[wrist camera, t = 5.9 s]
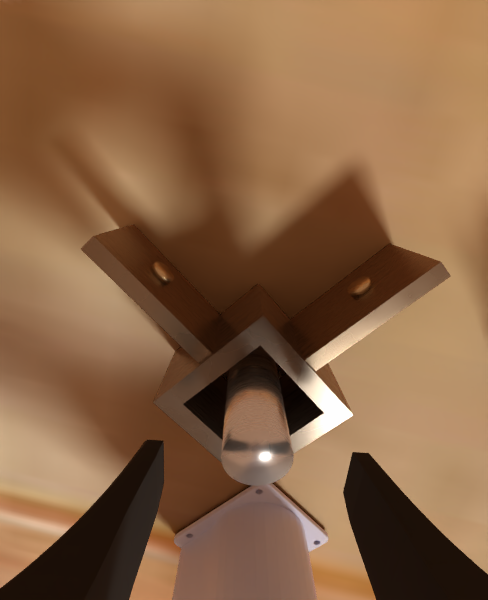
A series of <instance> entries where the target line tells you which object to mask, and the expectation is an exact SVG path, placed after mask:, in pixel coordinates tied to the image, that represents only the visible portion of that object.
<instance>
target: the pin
mask: <svg viewBox="0 0 488 600" xmlns="http://www.w3.org/2000/svg"><path fill="white" fill-rule="evenodd" d="M221 461H222V465H223V468H224V470H225V471H226V473H227V474H228V475H229V476H230V477H231V478H233V479H234V480H236V481H238V482H240V483H243V484H246V485H253V486H261V485H267V484H271V483H273V482H276V481H278V480H279V479H281V478H282V477H284V476H285V475H286V474H287V473H288V471H289V470H290V468H291V466H292V463H293V450H292V445H291V440H290V434H289V429H288V424H287V419H286V414H285V408H284V403H283V398H282V393H281V387H280V382H279V377H278V372H277V366H276V361H275V360H274V359H273V358H272V357H271V356H270V355H269V354H268V353H267V352H266V351H265V350H264V349H263V348H262V347H261V345H260V346H259V347H257V348H256V349H255V350H253V351H252V352H251V353H249V354H248V355H247V356H245V357H244V358H243V359H242V360H240V361H239V362H238V363H236V364H235V365H234V366H232V367H231V368H230V369H228V381H227V393H226V405H225V417H224V429H223V441H222V453H221Z"/></svg>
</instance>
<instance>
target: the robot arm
mask: <svg viewBox="0 0 488 600" xmlns="http://www.w3.org/2000/svg"><path fill="white" fill-rule="evenodd" d="M163 484H164V443H163V441H158V440H146V441H145V442H144V443H143V445H142V446H141V448H140V449H139V450H138V452H137V453H136V454H135V456H134V457H133V458H132V460H131V461H130V462H129V463H128V465H127V466H126V467H125V468H124V470H123V471H122V472H121V473H120V475H119V476H118V477H117V478H116V479H115V480H114V482H113V483H112V484H111V485H110V486H109V488H108V489H107V490H106V491H105V492H104V493H103V494H102V495H101V497H100V498H99V499H98V500H97V501H96V502H95V503H94V504H93V505H92V506H91V507H90V509H89V510H88V511H87V512H86V513H85V514H84V515H83V516H82V517H81V518H80V519H79V520H78V521H77V522H76V523H75V524H74V525H73V526H72V527H71V528H70V529H69V530H68V531H67V532H66V533H65V534H64V535H62V536H61V537H60V538H59V539H58V540H57V541H56V542H55V543H54V544H53V545H52V546H50V547H49V548H48V549H47V550H46V551H45V552H44V553H43V554H41V555H40V556H39V557H38V558H37V559H36V560H35V561H34V562H32V563H31V564H30V565H29V566H28V567H26V568H25V569H24V570H23V571H22V572H20V573H19V574H18V575H17V576H15V577H14V578H13V579H12V580H10V581H9V582H8V583H7V584H5V585H4V586H3V587H1V588H0V600H129V598H130V595H131V591H132V588H133V584H134V581H135V578H136V575H137V572H138V569H139V566H140V563H141V560H142V557H143V554H144V551H145V548H146V545H147V542H148V539H149V536H150V533H151V530H152V527H153V524H154V521H155V518H156V514H157V511H158V507H159V502H160V498H161V493H162V489H163ZM258 489H260V490H258ZM343 494H344V498H345V503H346V508H347V512H348V516H349V520H350V524H351V527H352V530H353V533H354V536H355V539H356V542H357V545H358V548H359V551H360V554H361V557H362V559H363V562H364V565H365V568H366V571H367V574H368V577H369V580H370V583H371V585H372V588H373V591H374V594H375V597H376V600H488V574H487V573H485V572H484V571H483V570H482V569H481V568H480V567H478V566H477V565H476V564H475V563H474V562H473V561H472V560H471V559H469V558H468V557H467V556H466V555H465V554H464V553H463V552H462V551H461V550H459V549H458V548H457V547H456V546H455V545H454V544H453V543H452V542H451V541H450V540H449V539H448V538H447V537H446V536H445V535H443V534H442V533H441V532H440V531H439V530H438V529H437V528H436V527H435V526H434V525H433V524H432V523H431V522H430V521H429V520H428V519H427V518H426V516H425V515H424V514H423V513H422V512H421V511H420V510H419V509H418V508H417V507H416V506H415V505H414V504H413V503H412V502H411V501H410V499H409V498H408V497H407V496H406V495H405V494H404V493H403V492H402V491H401V490H400V488H399V487H398V486H397V485H396V484H395V483H394V482H393V481H392V479H391V478H390V477H389V476H388V475H387V474H386V473H385V471H384V470H383V469H382V468H381V467H380V466H379V465H378V463H377V462H376V461H375V460H374V459H373V458H372V457H371V455H370V454H369V453H357V452H353V453H352V457H351V462H350V466H349V470H348V474H347V479H346V483H345V487H344V491H343ZM327 541H328V535H327V533H326V532H325V531H324V530H323V529H322V528H321V527H320V526H319V525H318V524H317V523H316V522H314V521H313V520H312V519H311V518H310V517H309V516H308V515H307V514H306V513H305V512H303V511H302V510H301V509H300V508H299V507H298V506H297V505H296V504H295V503H293V502H292V501H291V500H290V499H289V498H288V497H287V496H286V495H285V494H284V493H282V492H281V491H280V490H279V489H278V488H277V487H276V486H275V485H274V484H273V483H271V484H267V485H261V486H253V485H252V486H250V487H249V488H247V489H246V490H244V491H242V492H241V493H239V494H238V495H236V496H235V497H233V498H232V499H230V500H228V501H227V502H225V503H224V504H222V505H221V506H219V507H217V508H216V509H214V510H213V511H211V512H210V513H208V514H207V515H205V516H203V517H202V518H200V519H199V520H197V521H196V522H194V523H193V524H191V525H189V526H188V527H186V528H185V529H183V530H182V531H180V532H179V533H177V534H176V535H175V538H174V543H175V544H176V545H178V546H179V547H180V548H181V553H180V558H179V564H178V570H177V575H176V581H175V587H174V592H173V598H172V600H317V596H316V590H315V585H314V579H313V573H312V568H311V562H310V557H309V552H310V551H312V550H314V549H315V548H317V547H319V546H321V545H323V544H324V543H326V542H327Z"/></svg>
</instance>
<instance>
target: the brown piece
mask: <svg viewBox="0 0 488 600" xmlns="http://www.w3.org/2000/svg"><path fill="white" fill-rule="evenodd" d="M81 250H82V251H83V252H84V253H85V254H86V255H87V256H88V257H89V258H90V259H91V260H92V261H94V262H95V263H96V264H97V265H98V266H99V267H100V268H101V269H102V270H103V271H104V272H105V273H106V274H107V275H108V276H109V277H110V278H111V279H112V280H113V281H114V282H115V283H116V284H117V285H118V286H119V287H120V288H121V289H122V290H123V291H124V292H126V293H127V294H128V295H129V296H130V297H131V298H132V299H133V300H134V301H135V302H136V303H137V304H138V305H139V306H140V307H141V308H142V309H143V310H144V311H145V312H146V313H147V314H148V315H149V316H150V317H151V318H152V319H153V320H154V321H155V322H157V323H158V324H159V325H160V326H161V327H162V328H163V329H164V330H165V331H166V332H167V333H168V334H169V335H170V336H171V337H172V338H173V339H174V340H175V341H176V342H177V343H178V344H179V345H180V346H181V347H180V348H179V349H178V350H176V351H175V353H174V355H173V358H172V360H171V362H170V364H169V367H168V369H167V371H166V374H165V376H164V378H163V380H162V383H161V385H160V387H159V390H158V392H157V394H156V397H155V399H154V401H153V403H154V404H155V405H156V406H158V407H159V408H160V409H161V410H162V411H163V412H164V413H166V414H167V415H168V416H169V417H170V418H171V419H172V420H173V421H175V422H176V423H177V424H178V425H179V426H180V427H181V428H183V429H184V430H185V431H186V432H187V433H188V434H189V435H191V436H192V437H193V438H194V439H195V440H196V441H197V442H199V443H200V444H201V445H202V446H203V447H204V448H205V449H207V450H208V451H209V452H210V453H211V454H212V455H213V456H215V457H216V458H217V459H218V460H219V461H220V462H221V463H222V461H221V453H222V441H223V429H224V417H225V405H226V393H227V381H226V380H225V379H224V378H222V377H221V375H222V374H223V373H225V372H226V371H227V370H228V369H230V368H231V367H232V366H234V365H235V364H236V363H238V362H239V361H240V360H242V359H243V358H244V357H245V356H247V355H248V354H249V353H251V352H252V351H253V350H255V349H256V348H257V347H259V346H260V345H261V347H262V348H263V349H264V350H265V351H266V352H267V353H268V354H269V355H270V356H271V357H272V358H273V359H274V360H275V361H276V362H277V364H278V365H279V366H280V367H281V368H282V369H283V370H284V371H285V372H286V373H287V374H285V375H284V376H283V377H281V378H280V379H279V382H280V387H281V393H282V398H283V403H284V408H285V414H286V419H287V424H288V429H289V434H290V440H291V445H292V450H293V454H294V453H295V452H297V451H298V450H300V449H301V448H303V447H305V446H306V445H308V444H309V443H311V442H312V441H314V440H315V439H317V438H318V437H320V436H322V435H323V434H325V433H326V432H328V431H329V430H331V429H332V428H334V427H335V426H337V425H339V424H340V423H342V422H343V421H345V420H346V419H348V418H349V417H351V416H352V415H353V413H352V411H351V409H350V407H349V405H348V403H347V401H346V399H345V397H344V395H343V393H342V391H341V389H340V387H339V385H338V383H337V381H336V379H335V377H334V375H333V373H332V370H331V368H330V366H329V364H328V362H330V361H331V360H332V359H334V358H335V357H337V356H338V355H340V354H341V353H342V352H344V351H345V350H347V349H348V348H350V347H351V346H352V345H354V344H355V343H357V342H358V341H359V340H361V339H362V338H364V337H365V336H367V335H368V334H369V333H371V332H372V331H374V330H375V329H376V328H378V327H379V326H381V325H382V324H384V323H385V322H386V321H388V320H389V319H391V318H392V317H394V316H395V315H396V314H398V313H399V312H401V311H402V310H403V309H405V308H406V307H408V306H409V305H411V304H412V303H413V302H415V301H416V300H418V299H419V298H421V297H422V296H423V295H425V294H426V293H428V292H429V291H430V290H432V289H433V288H435V287H436V286H438V285H439V284H440V283H442V282H443V281H445V280H446V279H447V278H449V277H450V274H449V273H448V271H447V270H446V268H445V267H444V265H443V264H442V262H440V261H437V260H434V259H432V258H429V257H426V256H423V255H420V254H418V253H415V252H412V251H409V250H406V249H403V248H401V247H398V246H395V245H392V244H389V245H387V246H386V247H385V248H383V249H382V250H381V251H379V252H378V253H377V254H376V255H374V256H373V257H372V258H370V259H369V260H368V261H366V262H365V263H364V264H362V265H361V266H360V267H359V268H357V269H356V270H355V271H353V272H352V273H351V274H349V275H348V276H347V277H345V278H344V279H343V280H342V281H340V282H339V283H338V284H336V285H335V286H334V287H332V288H331V289H330V290H328V291H327V292H326V293H325V294H323V295H322V296H321V297H319V298H318V299H317V300H315V301H314V302H313V303H311V304H310V305H309V306H308V307H306V308H305V309H304V310H302V311H301V312H300V313H298V314H297V315H296V316H294V317H293V318H292V319H291V320H290V319H289V318H288V317H287V315H286V314H285V313H284V312H283V311H282V310H281V309H280V307H279V306H278V305H277V304H276V303H275V302H274V301H273V300H272V298H271V297H270V296H269V295H268V294H267V293H266V292H265V290H264V289H263V288H262V287H261V286H260V285H259V284H257V285H256V286H255V287H253V288H252V289H251V290H250V291H249V292H247V293H246V294H245V295H244V296H242V297H241V298H240V299H239V300H238V301H236V302H235V303H234V304H233V305H231V306H230V307H229V308H228V309H227V310H225V311H224V312H223V313H222V314H219V313H218V312H217V311H216V310H215V309H214V308H213V307H212V306H211V305H210V304H209V303H208V302H207V301H206V300H205V299H204V298H203V296H202V295H201V294H200V293H199V292H198V291H197V290H196V289H195V288H194V287H193V286H192V285H191V284H190V283H189V282H188V281H187V280H186V279H185V278H184V277H183V276H182V274H181V273H180V272H179V271H178V270H177V269H176V268H175V267H174V266H173V265H172V264H171V263H170V262H169V261H168V260H167V259H166V258H165V257H164V256H163V255H162V253H161V252H160V251H159V250H158V249H157V248H156V247H155V246H154V245H153V244H152V243H151V242H150V241H149V240H148V239H147V238H146V237H145V236H144V235H143V234H142V232H141V231H140V230H139V229H138V228H137V227H136V226H135V225H134V224H133V225H130V226H126V227H123V228H119V229H116V230H113V231H109V232H106V233H102V234H99V235H95V236H93V237H92V238H91V239H90V240H89V241H88V242H87V243H86V244H85V245H84V246H83V247H82V248H81Z"/></svg>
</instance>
